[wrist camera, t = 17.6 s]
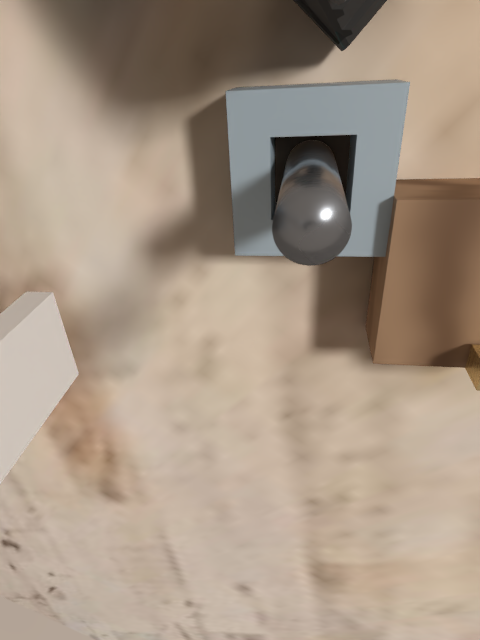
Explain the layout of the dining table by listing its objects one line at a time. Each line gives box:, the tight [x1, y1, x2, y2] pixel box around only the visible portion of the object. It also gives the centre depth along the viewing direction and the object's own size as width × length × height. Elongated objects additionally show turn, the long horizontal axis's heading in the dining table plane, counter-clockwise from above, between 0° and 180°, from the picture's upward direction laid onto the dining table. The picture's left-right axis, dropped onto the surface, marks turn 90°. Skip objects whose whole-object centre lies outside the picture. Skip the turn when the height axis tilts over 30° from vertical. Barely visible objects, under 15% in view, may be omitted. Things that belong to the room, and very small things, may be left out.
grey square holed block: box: [226, 80, 410, 257], centre depth 27 cm, size 10×10×4 cm
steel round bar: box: [272, 140, 352, 265], centre depth 24 cm, size 3×3×13 cm
